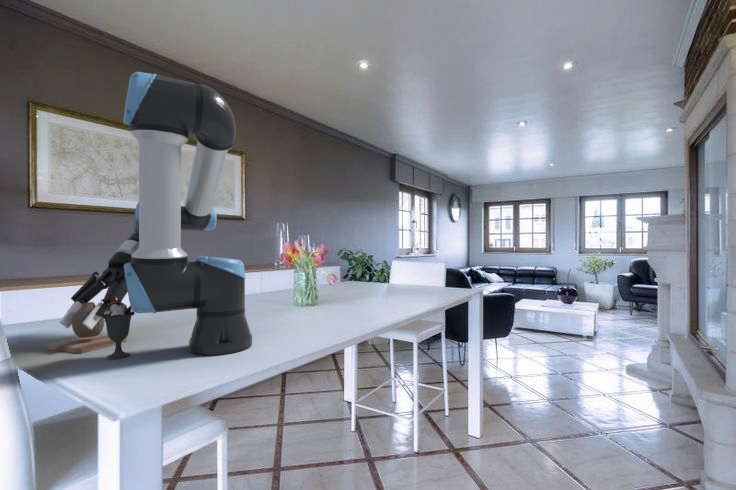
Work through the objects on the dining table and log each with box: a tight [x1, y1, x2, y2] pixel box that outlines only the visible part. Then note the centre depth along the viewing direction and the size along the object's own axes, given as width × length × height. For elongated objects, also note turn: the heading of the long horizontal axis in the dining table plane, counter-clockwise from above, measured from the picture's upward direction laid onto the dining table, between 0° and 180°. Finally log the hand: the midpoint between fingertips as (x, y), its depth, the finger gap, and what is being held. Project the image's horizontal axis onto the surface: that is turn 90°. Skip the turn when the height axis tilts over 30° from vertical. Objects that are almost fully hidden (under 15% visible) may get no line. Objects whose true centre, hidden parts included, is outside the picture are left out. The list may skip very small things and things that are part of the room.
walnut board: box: [47, 334, 128, 354], centre depth 101 cm, size 12×12×1 cm
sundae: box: [101, 294, 136, 360], centre depth 91 cm, size 7×7×15 cm
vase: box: [71, 301, 106, 338], centre depth 101 cm, size 7×7×9 cm
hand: (75, 325), depth 97 cm, fingers closed on vase, 7 cm apart
